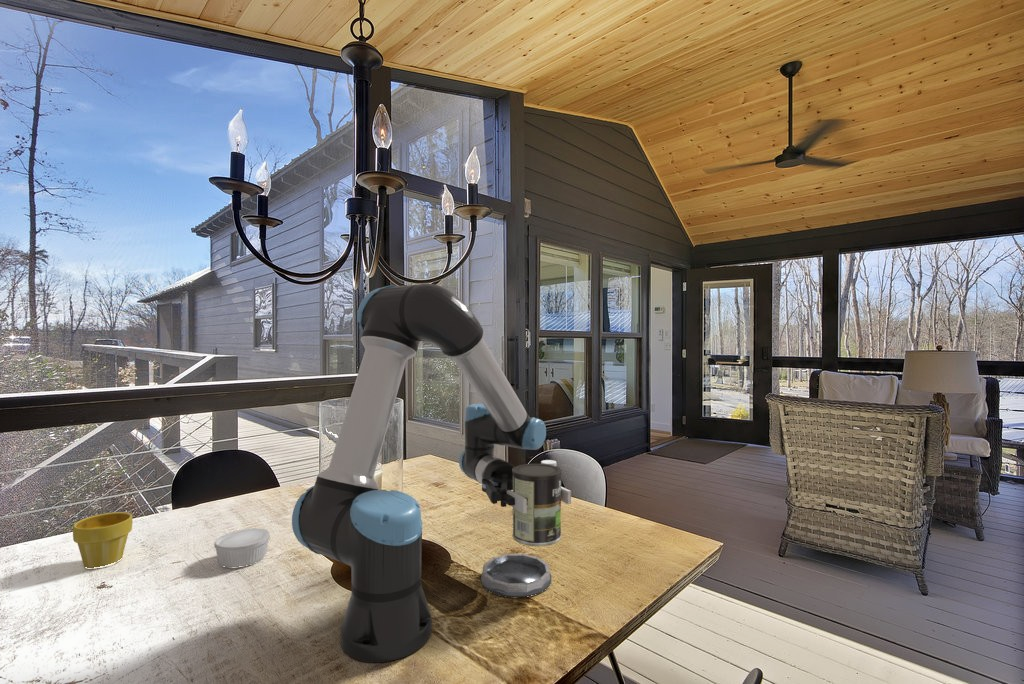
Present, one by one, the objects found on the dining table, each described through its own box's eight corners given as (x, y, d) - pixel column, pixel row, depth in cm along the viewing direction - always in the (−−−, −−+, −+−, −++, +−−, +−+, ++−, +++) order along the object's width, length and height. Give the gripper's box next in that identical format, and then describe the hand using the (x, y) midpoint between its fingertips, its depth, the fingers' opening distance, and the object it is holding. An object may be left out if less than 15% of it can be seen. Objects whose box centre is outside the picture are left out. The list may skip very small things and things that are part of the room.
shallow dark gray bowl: (503, 605, 94) (503, 593, 94) (469, 573, 107) (469, 562, 107) (565, 585, 102) (565, 574, 101) (526, 557, 114) (526, 547, 114)
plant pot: (137, 562, 112) (136, 519, 112) (76, 578, 104) (76, 532, 104) (128, 548, 119) (127, 508, 119) (70, 563, 111) (70, 520, 111)
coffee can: (564, 529, 107) (564, 464, 107) (557, 549, 97) (557, 477, 97) (517, 525, 110) (518, 461, 109) (506, 544, 100) (506, 474, 99)
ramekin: (224, 551, 117) (223, 529, 117) (275, 547, 120) (274, 525, 120) (206, 574, 107) (206, 549, 106) (263, 568, 109) (263, 544, 109)
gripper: (536, 483, 125) (592, 510, 105) (453, 497, 114) (498, 531, 94) (536, 453, 125) (592, 475, 105) (453, 465, 113) (498, 491, 94)
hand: (547, 501), depth 100 cm, fingers closed on coffee can, 10 cm apart
